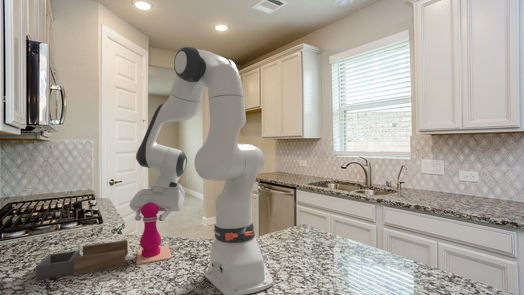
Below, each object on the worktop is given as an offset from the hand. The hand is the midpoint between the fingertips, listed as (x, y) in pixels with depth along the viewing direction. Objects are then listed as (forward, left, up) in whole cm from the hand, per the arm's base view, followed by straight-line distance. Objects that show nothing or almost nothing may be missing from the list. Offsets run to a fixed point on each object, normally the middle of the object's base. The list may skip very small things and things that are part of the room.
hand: (149, 220), depth 100 cm
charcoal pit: (0, +27, -13) cm, 30 cm away
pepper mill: (0, 0, -13) cm, 13 cm away
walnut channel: (0, +15, -13) cm, 20 cm away
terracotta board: (0, -1, -13) cm, 13 cm away
